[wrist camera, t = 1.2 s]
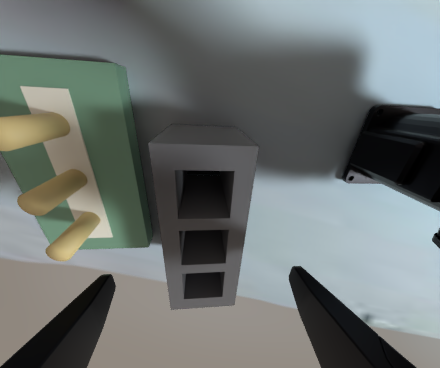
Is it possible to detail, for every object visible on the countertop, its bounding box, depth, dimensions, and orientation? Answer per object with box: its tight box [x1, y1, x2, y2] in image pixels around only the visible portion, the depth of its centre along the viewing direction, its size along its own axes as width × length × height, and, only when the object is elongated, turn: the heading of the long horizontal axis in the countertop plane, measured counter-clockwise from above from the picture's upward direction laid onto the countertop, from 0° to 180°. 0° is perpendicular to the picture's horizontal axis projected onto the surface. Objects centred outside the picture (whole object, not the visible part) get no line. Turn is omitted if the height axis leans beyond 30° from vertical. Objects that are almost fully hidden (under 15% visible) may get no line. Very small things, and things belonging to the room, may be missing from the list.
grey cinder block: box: [148, 124, 259, 310], centre depth 13 cm, size 5×12×6 cm, turn 177°
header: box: [0, 55, 153, 261], centre depth 11 cm, size 8×14×5 cm, turn 177°
